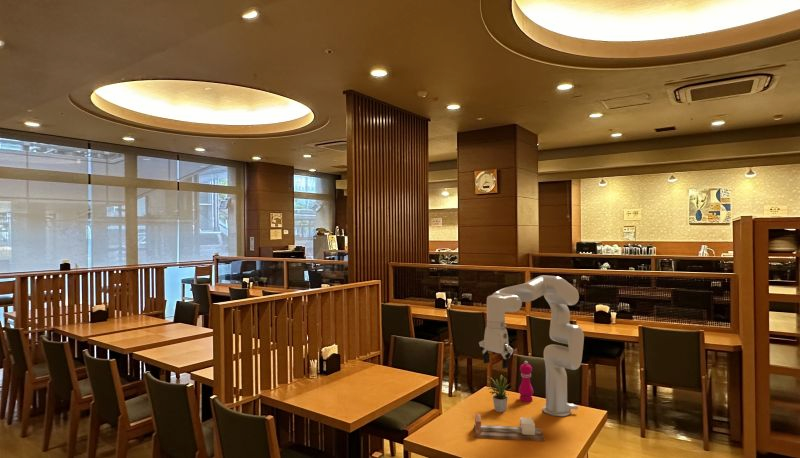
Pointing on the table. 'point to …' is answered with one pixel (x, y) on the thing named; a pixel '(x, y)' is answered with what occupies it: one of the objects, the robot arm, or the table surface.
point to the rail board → (504, 432)
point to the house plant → (499, 395)
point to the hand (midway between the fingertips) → (495, 365)
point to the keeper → (527, 426)
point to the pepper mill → (526, 383)
